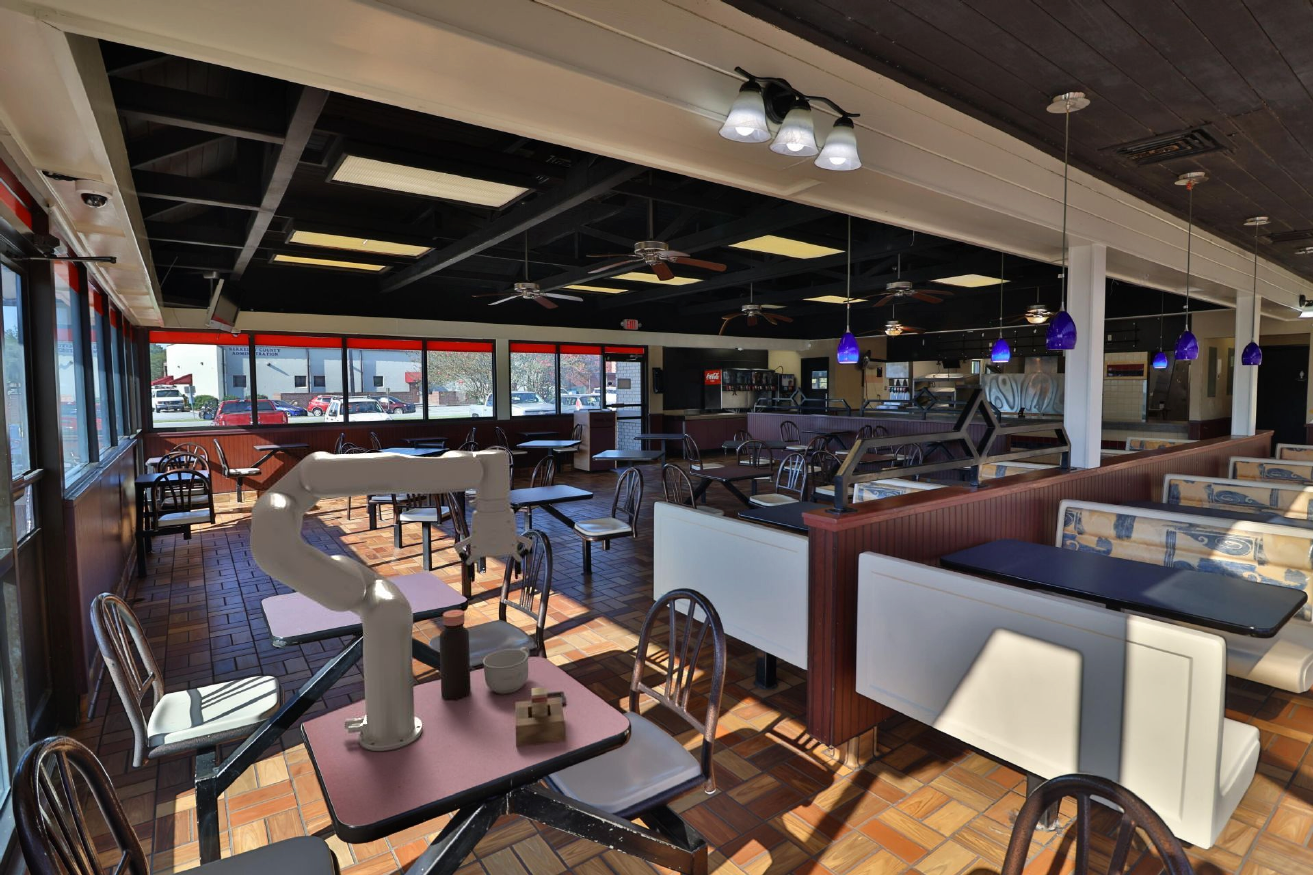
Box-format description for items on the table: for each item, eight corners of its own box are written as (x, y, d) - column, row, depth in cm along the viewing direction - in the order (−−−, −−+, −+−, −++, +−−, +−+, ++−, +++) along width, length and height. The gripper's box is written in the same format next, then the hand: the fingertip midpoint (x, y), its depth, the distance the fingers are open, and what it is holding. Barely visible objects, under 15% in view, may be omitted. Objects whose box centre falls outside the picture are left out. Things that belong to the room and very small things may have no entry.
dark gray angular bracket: (529, 709, 151) (529, 706, 151) (528, 697, 157) (528, 694, 157) (565, 705, 153) (565, 702, 153) (563, 693, 159) (563, 690, 159)
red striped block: (532, 735, 141) (531, 695, 140) (532, 727, 144) (531, 688, 143) (547, 733, 141) (547, 693, 140) (547, 725, 144) (546, 686, 143)
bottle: (454, 703, 154) (452, 620, 152) (435, 695, 158) (432, 614, 156) (476, 691, 160) (474, 611, 158) (457, 684, 163) (455, 606, 161)
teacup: (503, 703, 154) (502, 670, 153) (474, 689, 161) (473, 658, 160) (547, 681, 165) (546, 650, 164) (518, 669, 172) (517, 639, 171)
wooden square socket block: (516, 746, 136) (515, 725, 136) (515, 721, 146) (515, 702, 146) (564, 740, 139) (564, 720, 138) (561, 716, 148) (561, 697, 148)
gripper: (451, 510, 143) (453, 586, 145) (532, 506, 146) (534, 581, 148) (454, 503, 150) (456, 576, 152) (531, 500, 154) (533, 571, 155)
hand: (494, 578), depth 150 cm, fingers open, 9 cm apart
